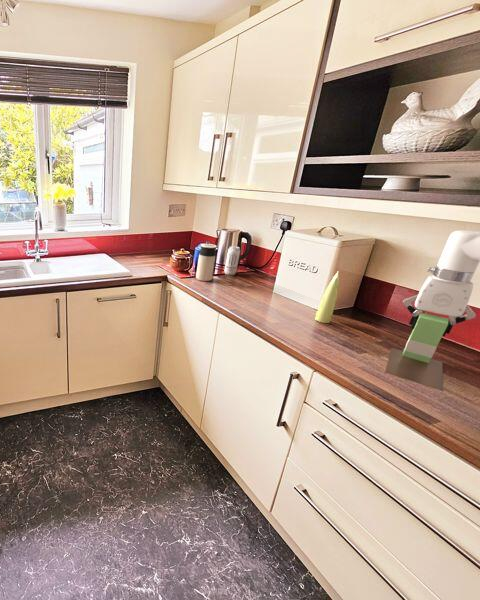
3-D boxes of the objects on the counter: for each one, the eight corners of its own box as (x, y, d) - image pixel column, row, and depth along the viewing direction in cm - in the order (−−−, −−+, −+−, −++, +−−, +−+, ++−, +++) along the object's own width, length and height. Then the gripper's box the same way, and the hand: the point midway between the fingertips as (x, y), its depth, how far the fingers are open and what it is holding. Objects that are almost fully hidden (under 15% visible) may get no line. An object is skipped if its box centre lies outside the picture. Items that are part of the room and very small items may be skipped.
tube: (334, 324, 128) (350, 275, 120) (321, 324, 127) (337, 275, 120) (323, 317, 133) (338, 270, 126) (311, 318, 133) (325, 271, 125)
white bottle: (223, 274, 184) (228, 247, 178) (224, 271, 189) (228, 245, 183) (235, 276, 182) (240, 249, 176) (235, 273, 187) (240, 246, 181)
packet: (429, 363, 102) (429, 357, 105) (448, 323, 96) (448, 318, 98) (402, 355, 106) (403, 350, 109) (419, 317, 100) (420, 312, 102)
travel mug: (214, 280, 174) (220, 246, 167) (201, 281, 172) (206, 247, 165) (206, 276, 181) (211, 243, 174) (192, 277, 179) (197, 244, 173)
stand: (441, 363, 103) (442, 362, 103) (442, 392, 90) (443, 390, 90) (390, 349, 111) (391, 347, 111) (384, 373, 98) (384, 372, 97)
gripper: (411, 271, 99) (389, 325, 106) (500, 285, 88) (469, 345, 94) (412, 266, 104) (391, 318, 111) (496, 278, 93) (467, 336, 99)
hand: (427, 330), depth 102 cm, fingers closed on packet, 6 cm apart
